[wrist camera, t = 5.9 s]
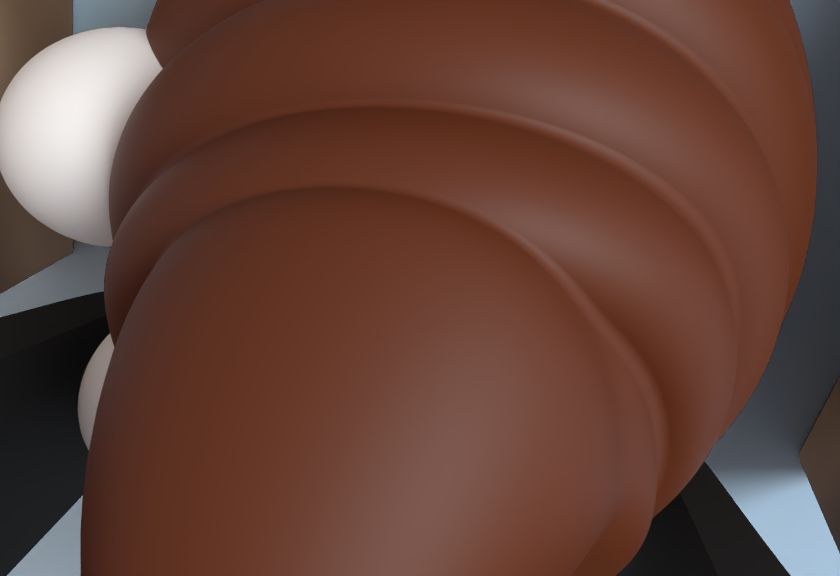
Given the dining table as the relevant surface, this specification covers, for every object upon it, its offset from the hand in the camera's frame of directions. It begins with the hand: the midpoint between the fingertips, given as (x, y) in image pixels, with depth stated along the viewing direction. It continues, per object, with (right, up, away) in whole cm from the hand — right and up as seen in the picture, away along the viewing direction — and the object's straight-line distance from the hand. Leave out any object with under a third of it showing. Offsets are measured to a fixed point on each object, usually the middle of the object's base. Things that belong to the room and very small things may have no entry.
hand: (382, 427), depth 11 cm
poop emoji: (+1, +4, +1) cm, 4 cm away
